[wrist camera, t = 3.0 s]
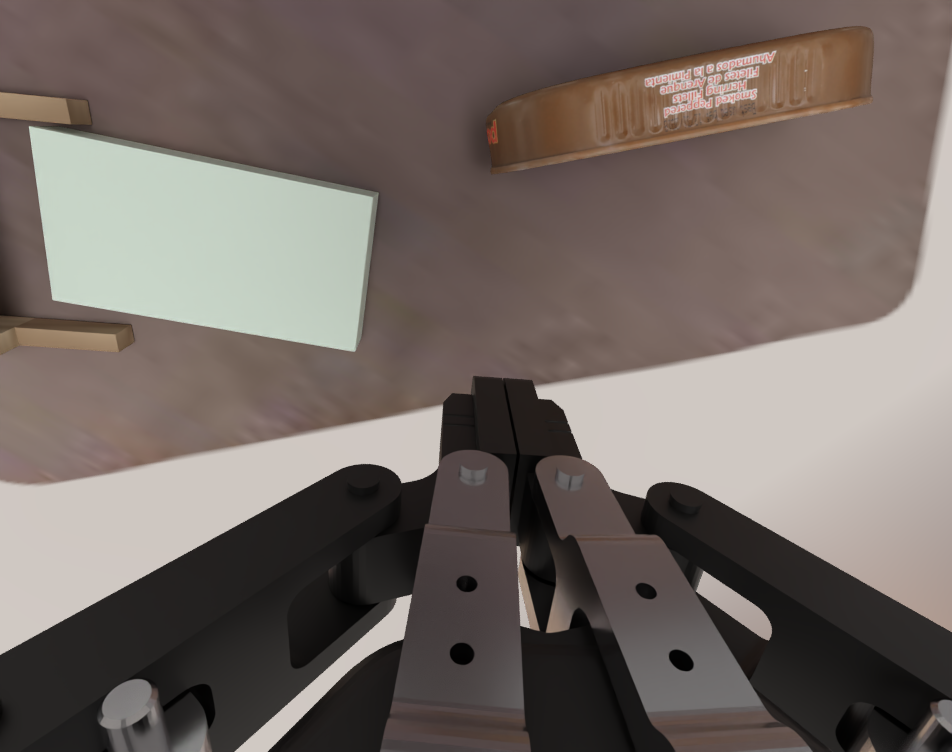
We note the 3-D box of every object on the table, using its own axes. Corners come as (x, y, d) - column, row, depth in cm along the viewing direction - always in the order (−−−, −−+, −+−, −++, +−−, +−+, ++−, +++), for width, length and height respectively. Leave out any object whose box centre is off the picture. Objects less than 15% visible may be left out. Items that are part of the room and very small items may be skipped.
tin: (486, 174, 26) (499, 192, 19) (476, 104, 25) (485, 94, 17) (789, 117, 26) (929, 112, 18) (794, 42, 24) (949, 4, 17)
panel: (67, 126, 25) (28, 126, 23) (379, 191, 27) (372, 197, 25) (84, 286, 28) (52, 300, 26) (362, 335, 30) (355, 351, 28)
